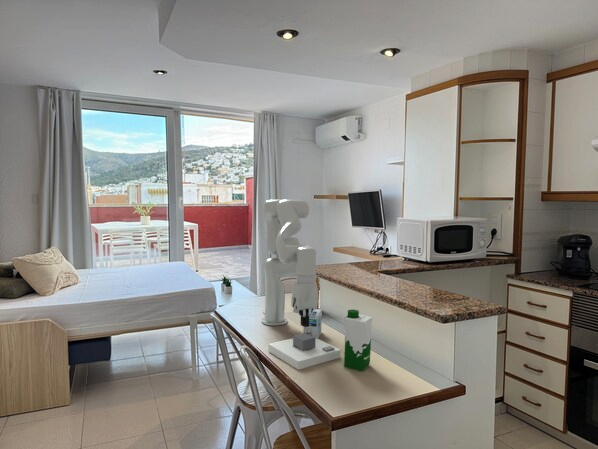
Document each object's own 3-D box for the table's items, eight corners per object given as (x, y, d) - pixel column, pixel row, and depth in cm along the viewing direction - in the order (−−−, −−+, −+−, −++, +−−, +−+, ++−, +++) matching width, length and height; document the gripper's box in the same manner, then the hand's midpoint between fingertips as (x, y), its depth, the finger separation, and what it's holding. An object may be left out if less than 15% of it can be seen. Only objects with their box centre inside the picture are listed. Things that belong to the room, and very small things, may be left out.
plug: (292, 352, 153) (293, 335, 153) (305, 348, 157) (305, 332, 157) (302, 357, 148) (303, 340, 148) (315, 354, 152) (315, 337, 151)
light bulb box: (318, 340, 168) (318, 315, 168) (302, 339, 170) (303, 314, 169) (321, 332, 179) (322, 309, 178) (307, 331, 180) (307, 307, 179)
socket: (268, 351, 155) (268, 341, 155) (308, 341, 167) (308, 332, 166) (298, 369, 139) (298, 359, 138) (340, 357, 151) (340, 347, 150)
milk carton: (350, 358, 149) (352, 307, 148) (373, 364, 145) (375, 311, 143) (340, 366, 142) (342, 312, 141) (363, 373, 137) (365, 317, 136)
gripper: (314, 275, 158) (313, 320, 159) (284, 279, 149) (283, 326, 150) (327, 278, 152) (325, 325, 153) (295, 282, 143) (294, 332, 144)
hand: (304, 325), depth 152 cm, fingers closed
